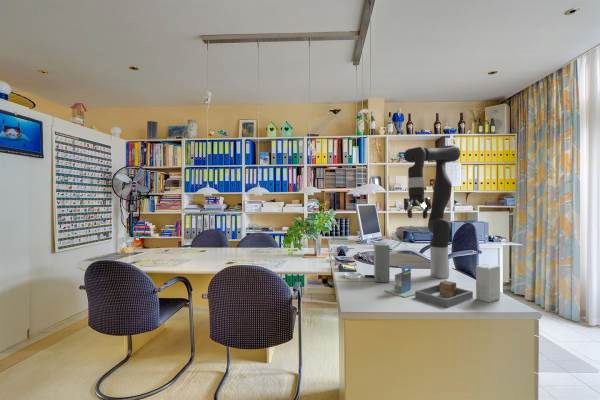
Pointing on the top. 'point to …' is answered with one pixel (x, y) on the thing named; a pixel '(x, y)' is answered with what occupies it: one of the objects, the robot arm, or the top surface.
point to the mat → (405, 294)
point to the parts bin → (461, 297)
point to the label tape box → (403, 280)
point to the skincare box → (488, 282)
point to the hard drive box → (381, 262)
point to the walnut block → (448, 289)
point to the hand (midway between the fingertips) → (417, 218)
